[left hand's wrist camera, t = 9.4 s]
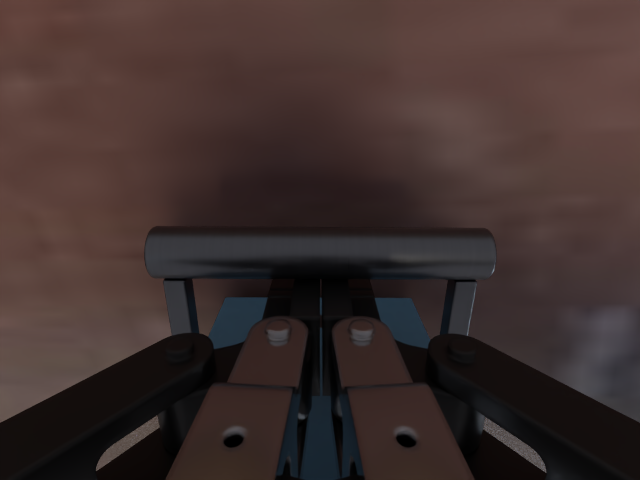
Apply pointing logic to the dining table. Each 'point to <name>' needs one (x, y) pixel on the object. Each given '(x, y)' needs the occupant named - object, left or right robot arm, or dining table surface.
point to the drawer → (319, 263)
